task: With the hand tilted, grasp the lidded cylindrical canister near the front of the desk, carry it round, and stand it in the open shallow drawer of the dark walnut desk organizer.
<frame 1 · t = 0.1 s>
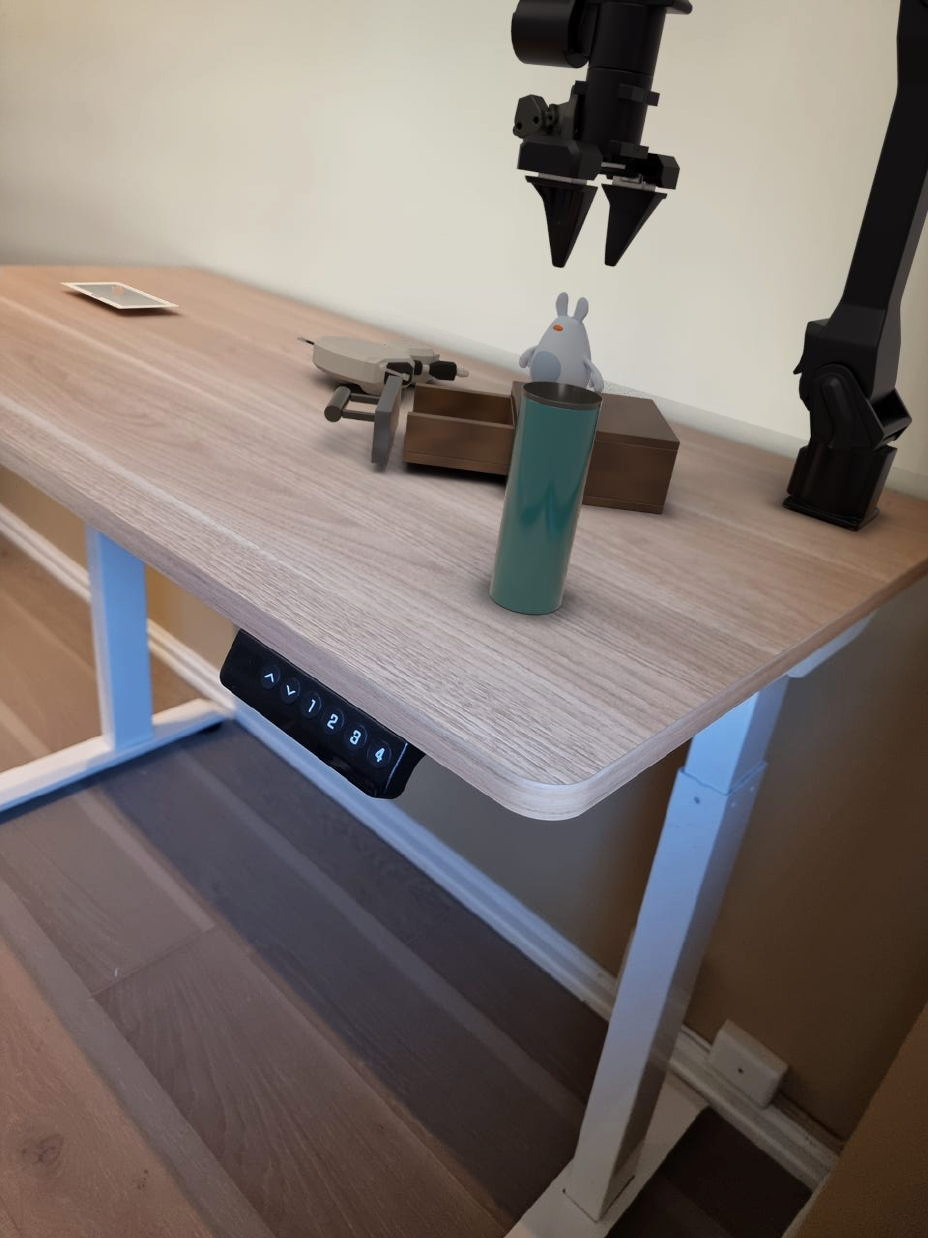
hand: (584, 266, 83), 15 cm above the table, tool pointing down, fingers open, 9 cm apart
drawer: (424, 422, 73), point 3 cm above the table, slide at 9.5 cm
lidded cylindrical canister: (525, 597, 54), on the table
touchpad: (119, 305, 111), on the table
toy figure: (551, 419, 90), on the table
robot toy: (383, 387, 93), on the table
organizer: (576, 477, 75), on the table
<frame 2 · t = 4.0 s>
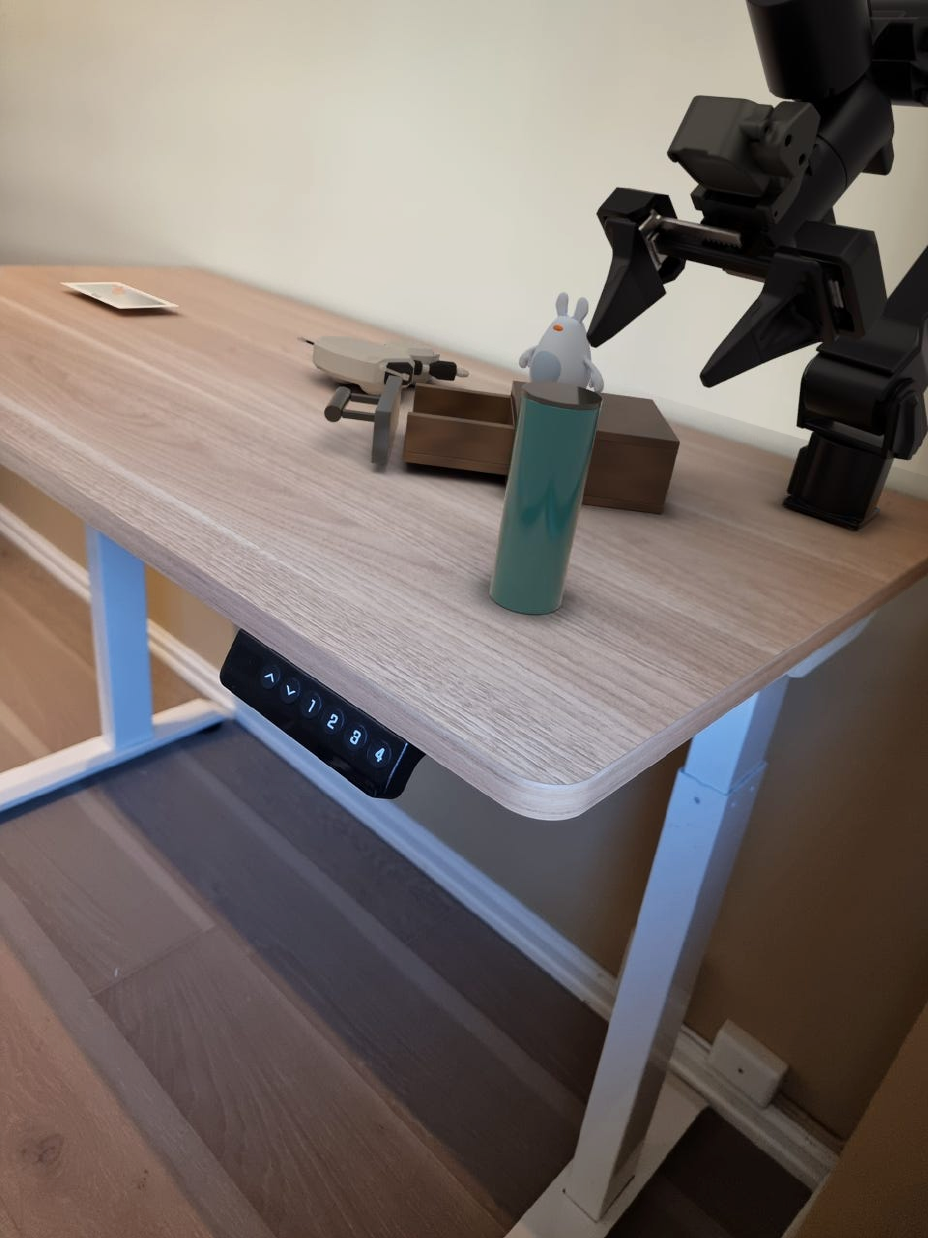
hand: (643, 361, 53), 13 cm above the table, tool tilted 45°, fingers open, 9 cm apart
nothing on the table moved.
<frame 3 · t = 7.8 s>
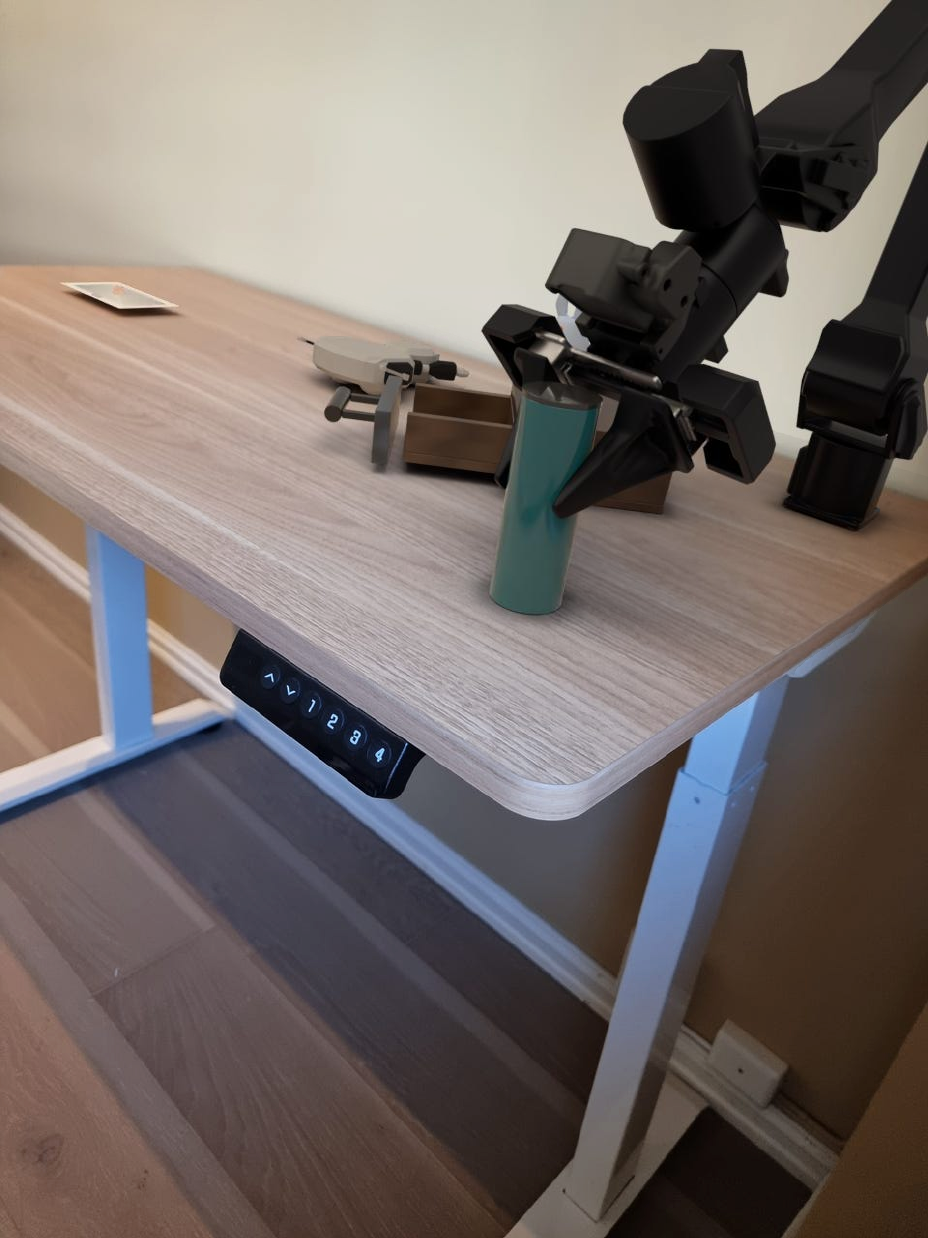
hand: (526, 498, 50), 7 cm above the table, tool tilted 45°, fingers closed on lidded cylindrical canister, 4 cm apart
lidded cylindrical canister: (525, 597, 54), on the table, touching gripper
everything else where it was.
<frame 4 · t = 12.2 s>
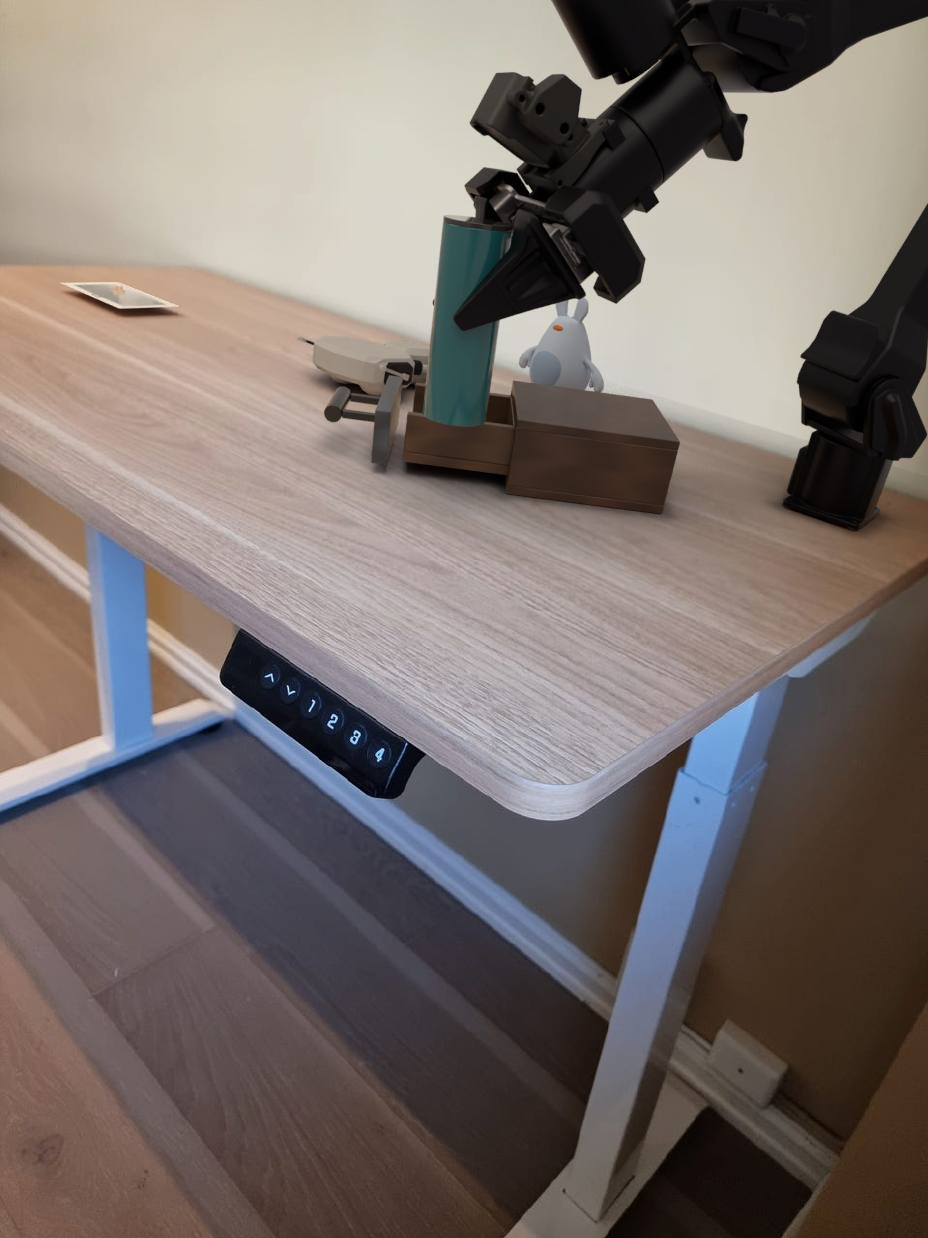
hand: (446, 316, 58), 13 cm above the table, tool tilted 45°, fingers closed on lidded cylindrical canister, 4 cm apart
lidded cylindrical canister: (454, 416, 61), point 7 cm above the table, touching gripper
everything else where it was.
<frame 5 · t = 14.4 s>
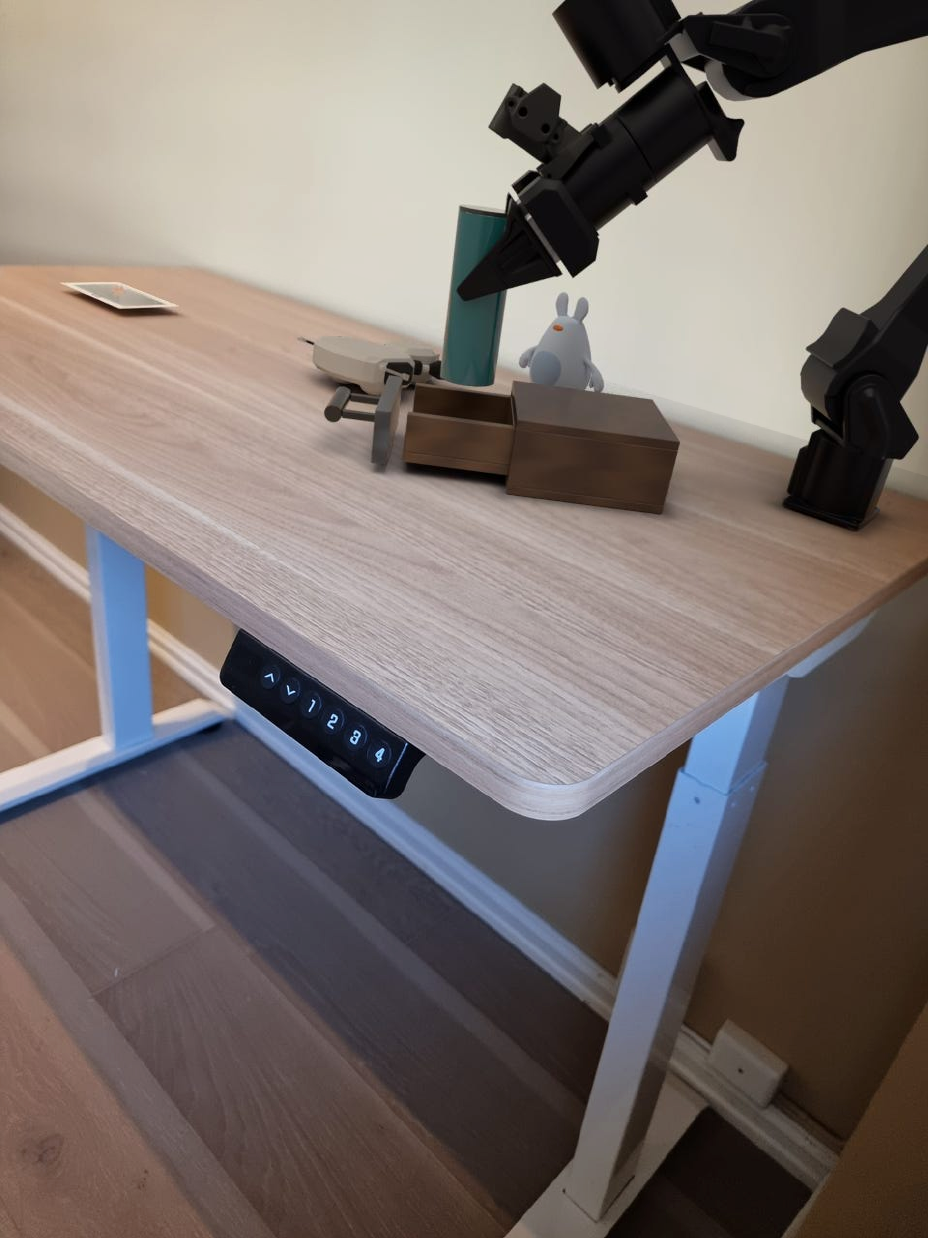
hand: (460, 290, 68), 13 cm above the table, tool tilted 45°, fingers closed on lidded cylindrical canister, 4 cm apart
lidded cylindrical canister: (466, 379, 71), point 7 cm above the table, touching gripper
everything else where it was.
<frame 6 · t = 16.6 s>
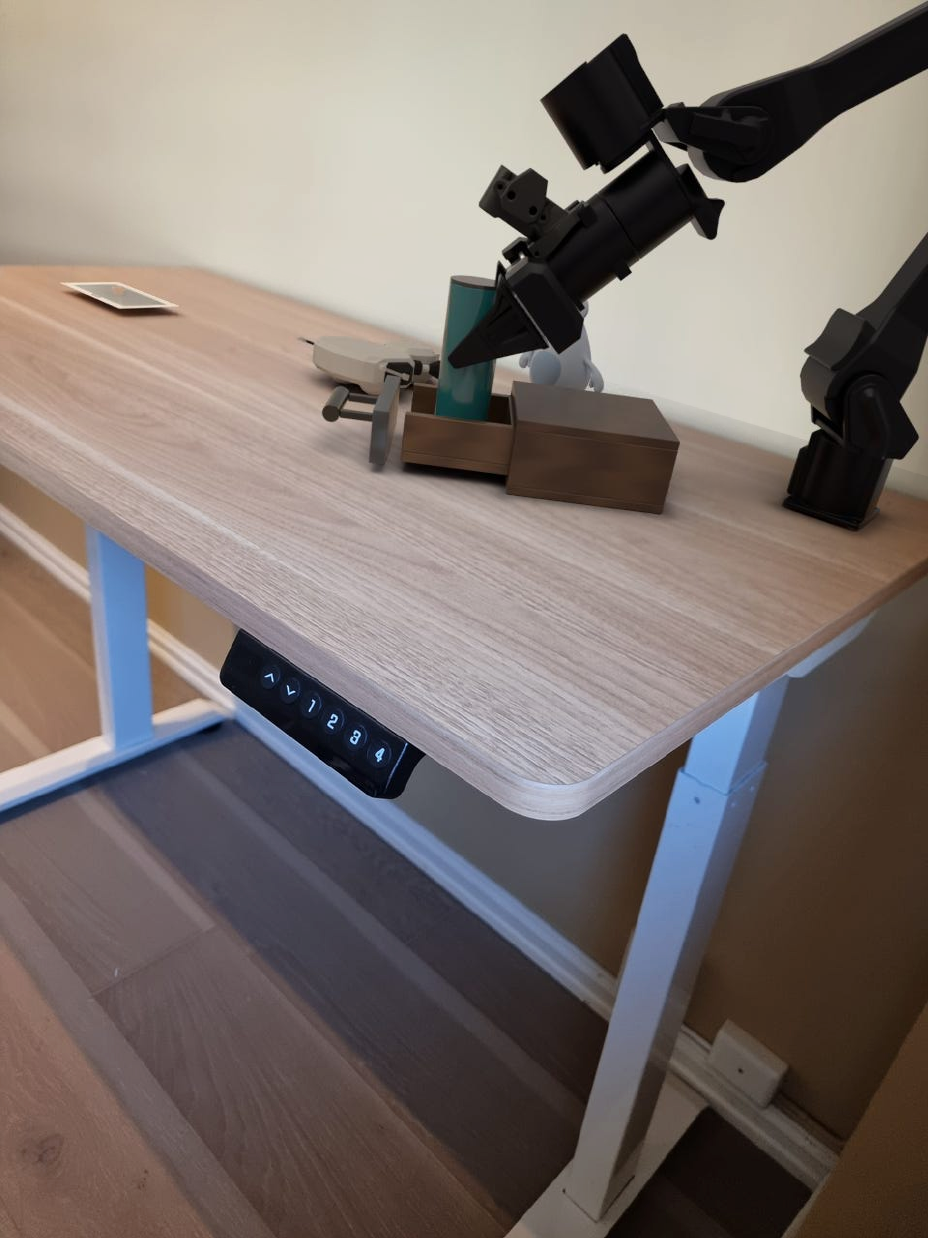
hand: (451, 356, 70), 8 cm above the table, tool tilted 45°, fingers closed on lidded cylindrical canister, 4 cm apart
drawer: (422, 422, 73), point 3 cm above the table, slide at 9.7 cm, touching lidded cylindrical canister
lidded cylindrical canister: (457, 439, 73), point 2 cm above the table, touching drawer, gripper
everything else where it was.
when the fingers open (8 cm above the table, at t = 16.8 s): lidded cylindrical canister stays where it is, resting on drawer.
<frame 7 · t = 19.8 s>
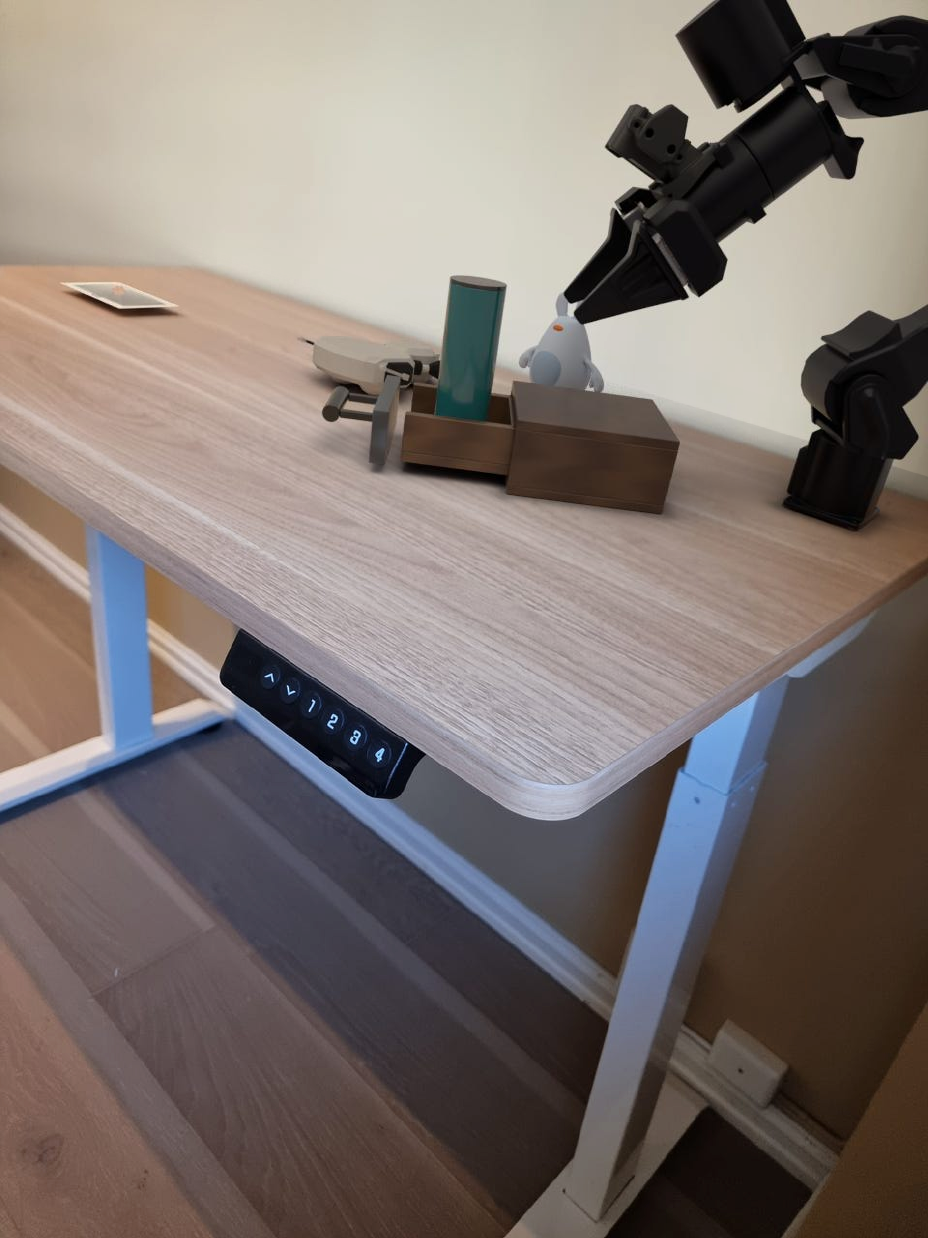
hand: (571, 308, 68), 13 cm above the table, tool tilted 45°, fingers open, 9 cm apart
lidded cylindrical canister: (457, 439, 73), point 2 cm above the table, touching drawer
everything else where it was.
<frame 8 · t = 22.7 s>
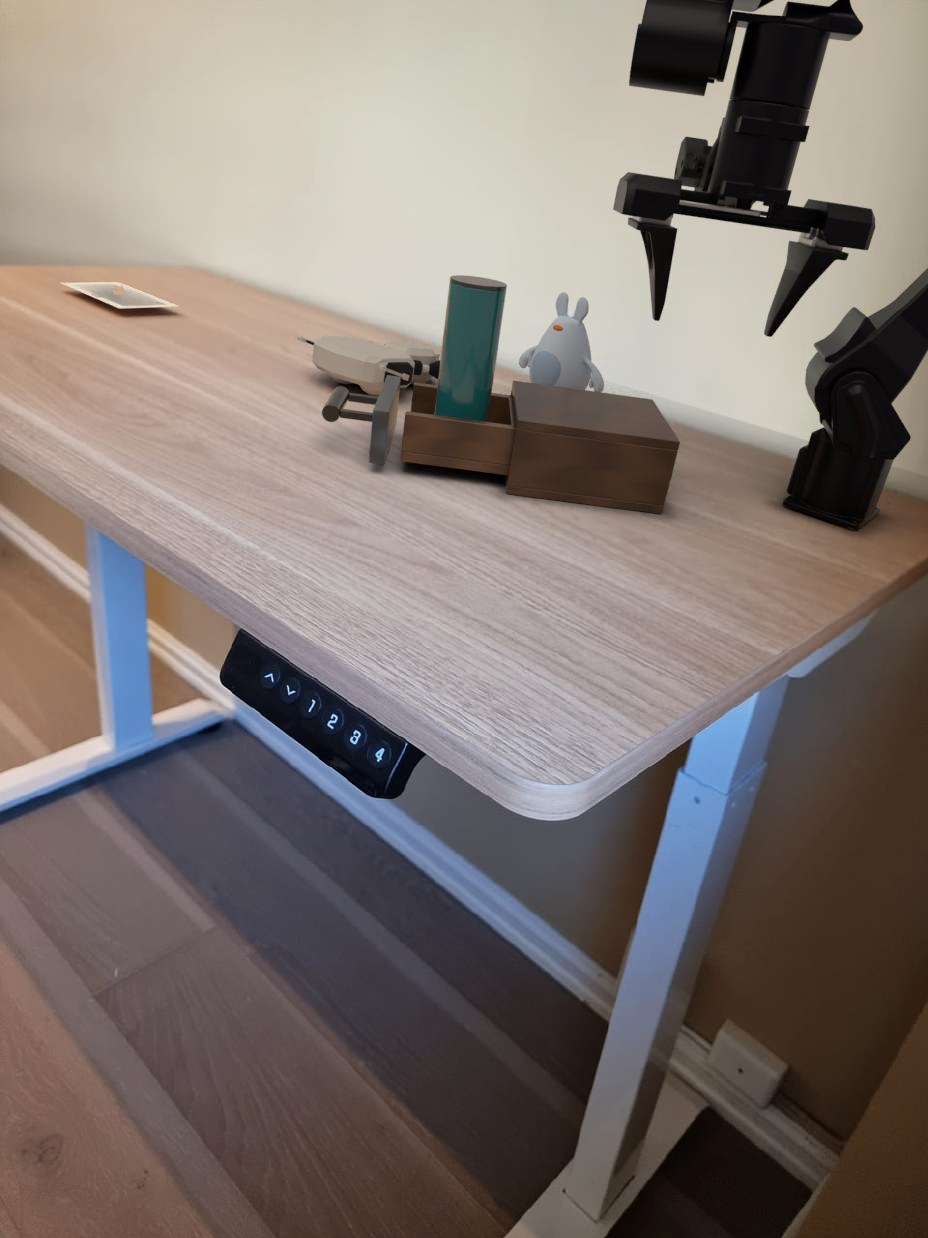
hand: (711, 327, 71), 13 cm above the table, tool pointing down, fingers open, 9 cm apart
nothing on the table moved.
at the end: lidded cylindrical canister 0.2 cm from the target spot in the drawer, point 1.9 cm above the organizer's base; lidded cylindrical canister tilted 0°; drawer slide at 9.7 cm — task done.
